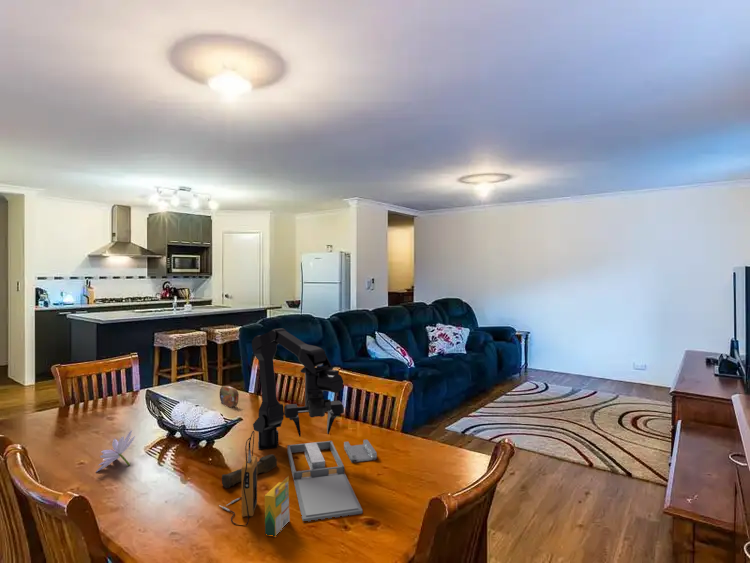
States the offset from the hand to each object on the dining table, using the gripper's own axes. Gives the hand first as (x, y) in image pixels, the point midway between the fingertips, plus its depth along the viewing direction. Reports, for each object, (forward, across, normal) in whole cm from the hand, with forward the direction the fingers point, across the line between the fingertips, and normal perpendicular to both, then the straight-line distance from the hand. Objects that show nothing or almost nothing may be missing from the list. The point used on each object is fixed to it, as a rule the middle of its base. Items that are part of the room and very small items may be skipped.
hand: (314, 435), depth 149 cm
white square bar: (+10, 0, 0) cm, 10 cm away
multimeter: (+9, -24, -24) cm, 35 cm away
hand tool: (+10, -20, -4) cm, 23 cm away
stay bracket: (+9, +16, +3) cm, 19 cm away
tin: (+10, -29, +74) cm, 80 cm away
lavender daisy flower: (+10, -62, +16) cm, 65 cm away
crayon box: (+9, -14, -35) cm, 39 cm away
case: (+9, 0, -12) cm, 15 cm away
